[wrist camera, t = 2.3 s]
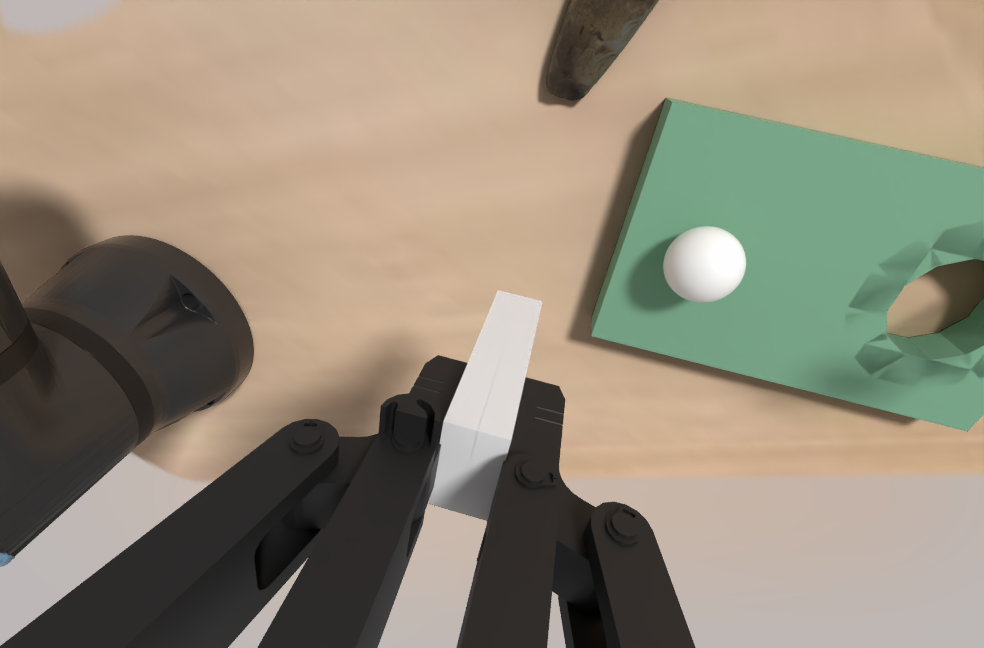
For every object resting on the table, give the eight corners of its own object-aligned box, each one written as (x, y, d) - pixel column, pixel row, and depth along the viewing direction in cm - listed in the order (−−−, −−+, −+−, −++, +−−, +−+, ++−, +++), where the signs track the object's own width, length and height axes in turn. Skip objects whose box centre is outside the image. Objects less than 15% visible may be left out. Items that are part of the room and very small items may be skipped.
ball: (649, 274, 28) (656, 305, 25) (674, 208, 26) (686, 232, 23) (717, 290, 28) (733, 324, 25) (748, 226, 26) (771, 252, 23)
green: (591, 317, 33) (589, 516, 19) (666, 97, 26) (750, 156, 12) (942, 405, 32) (1219, 690, 18) (1124, 198, 25) (1836, 401, 11)
